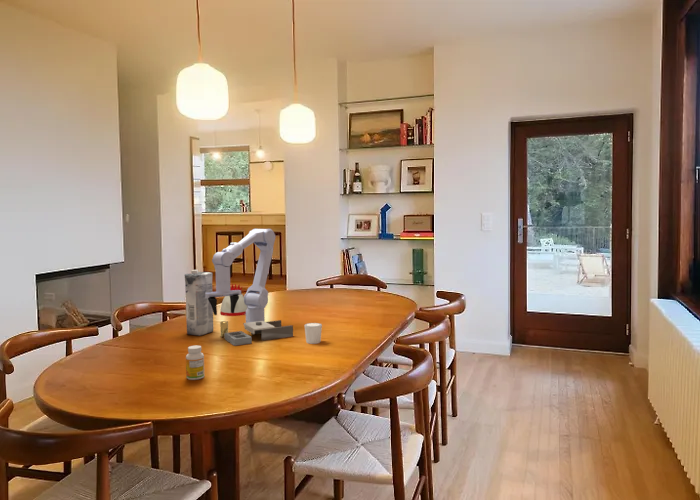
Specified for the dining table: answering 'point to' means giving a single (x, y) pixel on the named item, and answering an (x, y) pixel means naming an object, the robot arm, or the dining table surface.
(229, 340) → the socket board
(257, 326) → the lid
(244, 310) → the kitchen timer
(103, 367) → the dining table surface
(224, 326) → the pin
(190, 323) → the juice carton
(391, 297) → the dining table surface
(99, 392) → the dining table surface
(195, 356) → the supplement bottle
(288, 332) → the housing
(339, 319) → the dining table surface
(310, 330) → the white cup
